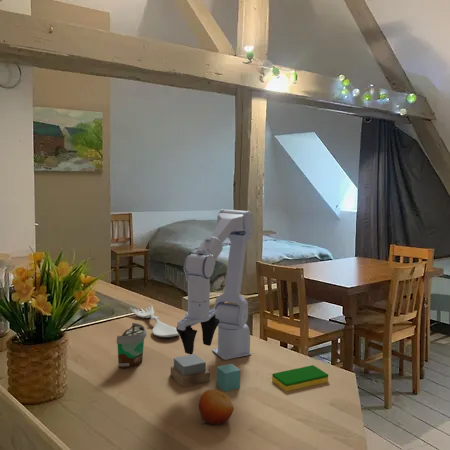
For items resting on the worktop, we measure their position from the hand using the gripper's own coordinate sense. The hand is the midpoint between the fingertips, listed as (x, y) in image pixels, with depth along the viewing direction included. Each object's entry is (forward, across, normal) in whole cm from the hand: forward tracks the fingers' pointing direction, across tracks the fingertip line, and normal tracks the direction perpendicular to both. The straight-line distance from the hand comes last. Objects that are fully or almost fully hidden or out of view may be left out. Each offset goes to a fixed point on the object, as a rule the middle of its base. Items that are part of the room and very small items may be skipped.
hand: (198, 348), depth 137 cm
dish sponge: (+10, -17, +22) cm, 29 cm away
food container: (+9, +2, -22) cm, 24 cm away
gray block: (+6, 0, -3) cm, 7 cm away
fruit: (+9, +13, +16) cm, 23 cm away
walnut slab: (+10, 0, -3) cm, 10 cm away
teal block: (+9, -2, +8) cm, 12 cm away
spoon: (+10, -24, -40) cm, 47 cm away
